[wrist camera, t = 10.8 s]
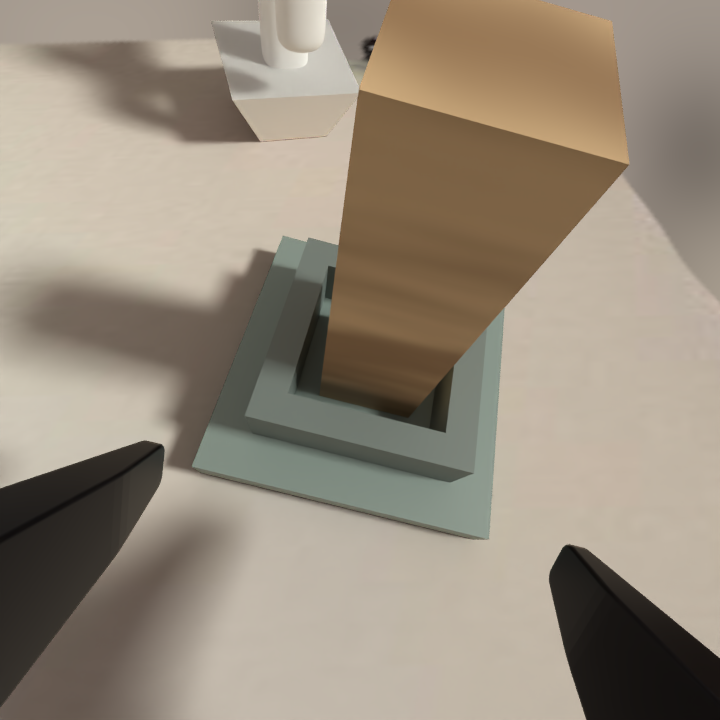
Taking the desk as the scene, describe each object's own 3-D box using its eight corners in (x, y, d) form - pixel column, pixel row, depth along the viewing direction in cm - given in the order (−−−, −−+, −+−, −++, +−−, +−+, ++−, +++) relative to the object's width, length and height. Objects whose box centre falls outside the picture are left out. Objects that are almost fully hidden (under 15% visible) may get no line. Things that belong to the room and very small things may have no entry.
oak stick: (408, 417, 17) (629, 164, 6) (319, 395, 17) (359, 88, 6) (421, 339, 19) (612, 21, 7) (340, 318, 19) (404, -40, 7)
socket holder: (473, 539, 17) (520, 539, 14) (200, 472, 17) (173, 453, 13) (492, 309, 22) (530, 265, 19) (284, 254, 22) (281, 198, 18)
